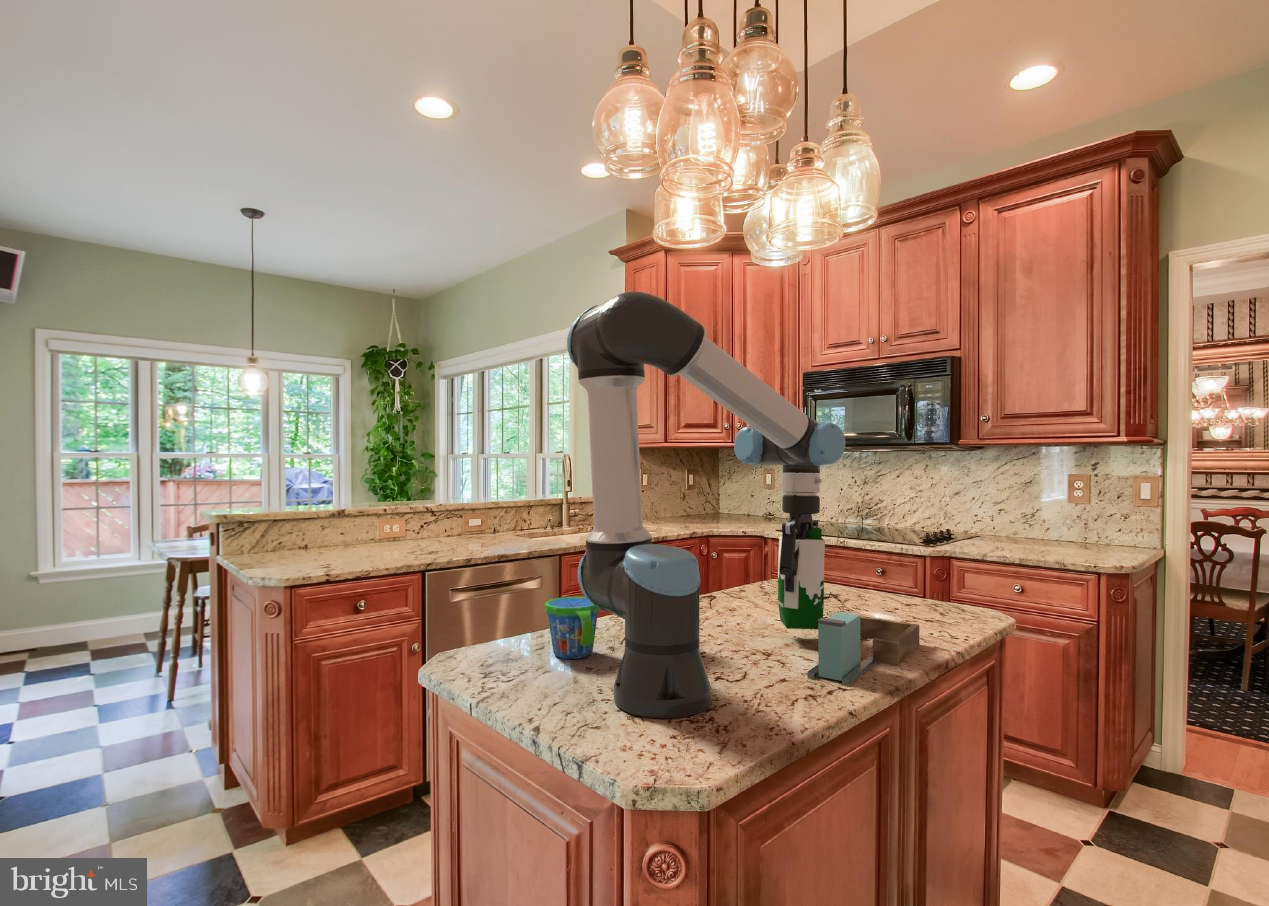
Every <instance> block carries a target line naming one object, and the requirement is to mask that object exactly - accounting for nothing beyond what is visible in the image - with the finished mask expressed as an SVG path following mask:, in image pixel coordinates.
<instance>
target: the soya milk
mask: <svg viewBox="0 0 1269 906" xmlns="http://www.w3.org/2000/svg"><path fill="white" fill-rule="evenodd" d="M822 533H823V531H822V528H820V527H818V528H813V529H808V532H807V533H806V537H805V540H799V539H798V540H796V544H795V552H796V550H797V549H798V547H799V556H798V569H797V574H796V576H799V596H798V609H793V608H787V607H784V575H781V574H780V573H779V568H780V556H781V545H782V535H780V536H779V538H778V539H779V540H778V553H777V554H778V556H777V558H778V559H777V562H778V563H777V564H778V565H777V603H778V604H777V605H778V610H779V619H780V621H781V623H782V624H783V625H784V626H785V628H786V629H789V630H791V629H792V630H818V620H819V619H821V618H824V610H825V609H824V608H825V607H824V606H825V601H824V600H825V554H826V553H825V551H826V540H824V539H823V538H822V536H823V535H822Z"/></svg>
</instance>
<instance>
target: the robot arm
mask: <svg viewBox="0 0 1269 906" xmlns="http://www.w3.org/2000/svg"><path fill="white" fill-rule="evenodd" d="M706 332H707V331H706V328H705V327H704V326H703V325H702V324H700V322H698V321H697V320H696V319H694V318H693V317H692V316H690V315H689V314H688V313H687V312H685V311H684V310H682V309H680V308H679V307H677V306H675V305H674V304H672V303H670V302H669V301H667V300H664V299H662V298H661V297H658V296H655V295H653V294H651V293H646V292H644V291H633V290H632V291H626V292H622V293H620V294H617V295H614V296H613V297H611V298H610V299H608V300H606V301H604V302H602V303H600V304H596V305H593V306H591V307H590V308H587V309H586V310H584V312H582V313H581V314H580V315H579V316H578V317H576V319H575V320H574V321H573V322H572V324H571V325H570V328H569V331H568V333H567V339H566V348H567V353H568V356H569V359H570V360H571V362H572V363H573V364H574V365H575V367H576V369H577V375H578V376H577V377H578V384H579V385H580V386H582V387H583V388H584V389H585V390H586V392H587V399H588V400H587V402H588V403H587V404H588V423H589V424H588V425H589V426H588V427H589V447H590V473H591V492H592V510H593V511H592V513H593V517H592V518H593V527H592V528H593V529H592V530H591V532H590V533H589V534H588V535H587V536H586V537H585V552H584V554H583V556H582V557H581V558H580V560H579V563H578V567H577V581H578V585H579V589H580V591H581V593H582V594H583V597H586V598H587V599H588V600H589V601H590V602H591V603H592V604H593V605H595V606H597V607H598V608H599V610H600V611H603V612H605V613H610V614H612V615H615V616H617V617H618V618H620V619H623V620H624V653H623V656H622V659H621V660H620V661H621V662H620V665H619V668H618V672H617V674H616V678H615V681H614V684H613V685H614V687H613V702H614V704H615V705H616V706H617V708H620V709H621V710H622V711H624V712H627V713H629V714H632V715H635V716H639V717H645V718H653V719H676V718H684V717H688V716H693V715H696V714H699V713H700V712H703V711H704V710H707V708H708V707H709V706H710V705H711V703H712V685H711V682H710V681H709V676H708V673H707V670H706V668H705V664H704V660H703V657H702V654H701V651H700V585H701V576H700V569H699V561H698V559H697V557H696V556H695V555H694V554H693V553H692V552H691V551H689V550H687V549H685V548H682V547H677V546H674V545H669V546H668V545H667V544H659V543H658V544H655V543H653V538H652V533H650V532H649V531H648V530H647V529H646V528H645V527H644V523H643V505H642V502H643V501H642V483H641V481H642V480H641V464H640V463H641V462H640V459H641V458H640V457H641V456H640V440H639V437H640V436H639V421H638V420H639V417H638V394H637V393H638V389H639V387H640V386H641V385H642V384H643V383H644V382H645V381H646V378H645V377H646V376H645V375H646V371H645V365H648V366H651V367H654V368H656V369H659V370H660V371H661V372H663V373H664V374H666V375H667V376H670V377H674V376H678V375H679V376H680V377H681V378H682V379H684V380H685V381H687V382H688V383H690V384H691V385H692V386H693V387H695V388H696V389H698V390H699V391H700V392H702V393H703V394H705V395H706V396H708V397H709V398H710V399H712V400H713V401H715V402H716V403H717V404H719V405H720V406H721V407H723V408H725V409H726V410H727V411H729V412H731V414H733V415H734V416H736V417H737V418H738V419H740V420H741V421H743V423H745V424H747V425H748V426H745V427H742V428H741V429H739V431H738V432H737V433H736V435H735V438H734V440H733V442H734V443H733V444H734V446H733V447H734V448H733V449H734V453H735V456H736V459H737V460H738V461H739V462H741V463H742V464H746V465H752V466H759V465H762V466H763V465H764V466H768V465H769V466H774V465H775V466H782V483H781V484H782V486H781V487H782V490H781V491H782V492H783V493H784V494H783V495H782V498H781V499H782V502H781V503H782V508H781V509H782V512H783V513H785V514H789V517H788V522H782V524H781V534H782V535H781V536H782V545H781V556H780V568H779V573H780V574H781V575H784V607H787V608H793V609H798V596H799V576H796V574H797V569H798V556H799V547H798V549H797V550H796V552H795V544H796V540H798V539H799V540H805V537H806V533H807V532H808V529H813V528H819V520H816V519H813V515H816V514H820V511H821V510H820V509H821V508H820V507H821V503H820V502H821V497H820V496H819V495H817V494H819V493H820V491H821V490H820V488H821V484H822V482H823V479H822V478H820V477H821V466H825V465H832V464H835V463H836V462H838V461H840V459H841V458H842V457H843V454H844V451H845V449H846V437H845V435H844V432H843V430H842V428H841V427H840V426H838V425H837V424H835V423H834V422H833V423H832V422H827V421H820V422H819V421H817V420H816V419H812V418H811V417H810V416H808V414H806V413H804V412H803V411H802V410H801V409H800V408H798V407H797V406H795V404H793V403H792V402H790V401H789V400H788V399H786V397H784V396H783V395H782V394H780V393H778V391H776V389H774V388H773V387H771V386H770V385H769V384H767V383H766V382H765V381H763V380H762V379H761V378H760V377H758V376H757V375H756V374H754V373H753V372H752V371H751V370H749V368H747V367H745V366H744V365H743V364H742V363H740V362H739V361H738V360H737V359H735V358H733V356H731V355H730V354H729V353H728V352H726V351H725V350H724V349H722V348H721V347H720V346H718V345H717V344H716V343H715V342H713V341H712V340H710V339H709V338H708V337H707V333H706Z"/></svg>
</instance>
